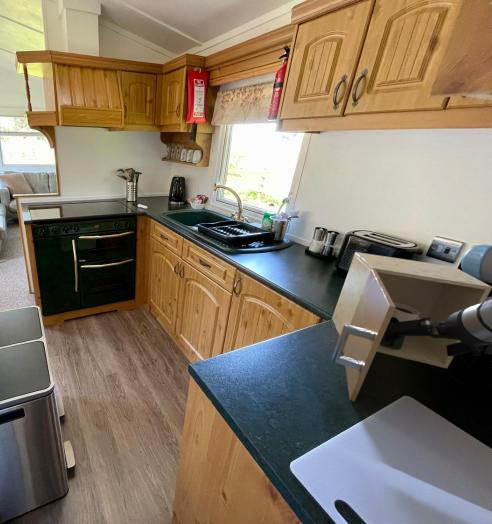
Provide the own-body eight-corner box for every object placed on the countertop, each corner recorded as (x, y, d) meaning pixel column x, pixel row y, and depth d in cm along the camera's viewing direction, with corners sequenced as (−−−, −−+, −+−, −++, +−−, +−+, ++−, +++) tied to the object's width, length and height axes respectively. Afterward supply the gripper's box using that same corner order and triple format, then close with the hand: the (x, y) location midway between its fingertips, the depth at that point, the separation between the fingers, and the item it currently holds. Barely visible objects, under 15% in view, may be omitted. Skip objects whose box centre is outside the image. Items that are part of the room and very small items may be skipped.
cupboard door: (321, 389, 71) (356, 297, 62) (321, 338, 93) (346, 263, 84) (354, 401, 68) (395, 307, 59) (346, 345, 90) (375, 269, 80)
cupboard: (447, 368, 83) (492, 287, 73) (343, 344, 91) (372, 267, 81) (419, 338, 97) (454, 266, 88) (331, 319, 105) (355, 251, 95)
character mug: (367, 343, 90) (382, 306, 86) (366, 332, 96) (380, 298, 91) (412, 357, 85) (431, 319, 80) (408, 346, 90) (426, 310, 86)
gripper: (561, 321, 57) (474, 342, 75) (407, 294, 64) (362, 319, 83) (571, 360, 54) (478, 372, 72) (409, 326, 62) (362, 345, 80)
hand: (416, 343), depth 78 cm, fingers open, 13 cm apart
